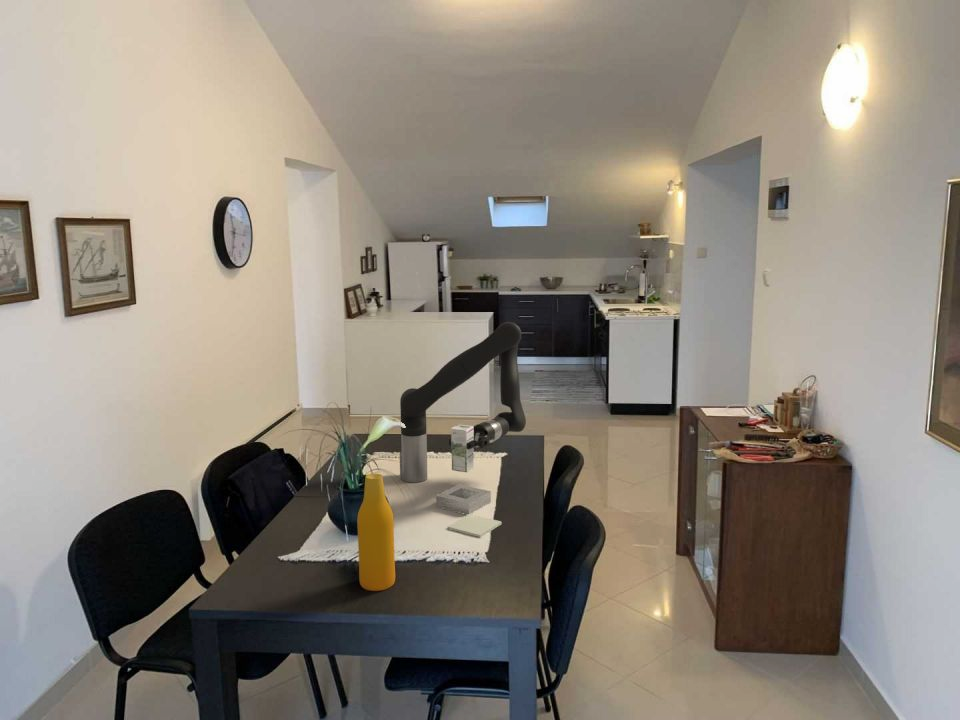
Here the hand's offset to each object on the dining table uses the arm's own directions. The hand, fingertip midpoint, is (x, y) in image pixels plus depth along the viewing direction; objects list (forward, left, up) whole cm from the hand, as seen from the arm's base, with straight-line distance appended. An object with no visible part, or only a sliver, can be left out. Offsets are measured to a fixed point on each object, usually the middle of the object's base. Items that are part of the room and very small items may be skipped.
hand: (458, 444), depth 237 cm
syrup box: (0, +2, -9) cm, 9 cm away
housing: (0, +2, -21) cm, 22 cm away
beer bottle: (+12, -55, -22) cm, 60 cm away
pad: (+13, -11, -21) cm, 27 cm away
